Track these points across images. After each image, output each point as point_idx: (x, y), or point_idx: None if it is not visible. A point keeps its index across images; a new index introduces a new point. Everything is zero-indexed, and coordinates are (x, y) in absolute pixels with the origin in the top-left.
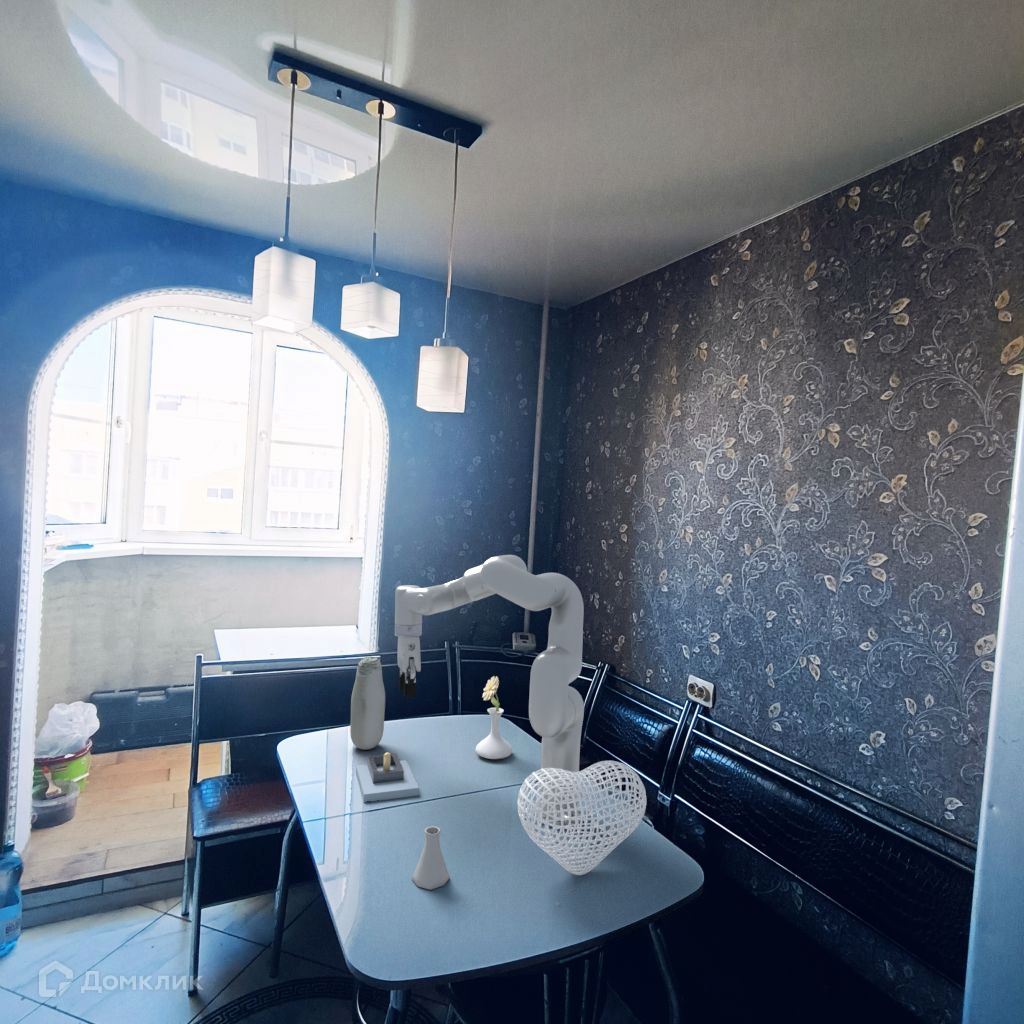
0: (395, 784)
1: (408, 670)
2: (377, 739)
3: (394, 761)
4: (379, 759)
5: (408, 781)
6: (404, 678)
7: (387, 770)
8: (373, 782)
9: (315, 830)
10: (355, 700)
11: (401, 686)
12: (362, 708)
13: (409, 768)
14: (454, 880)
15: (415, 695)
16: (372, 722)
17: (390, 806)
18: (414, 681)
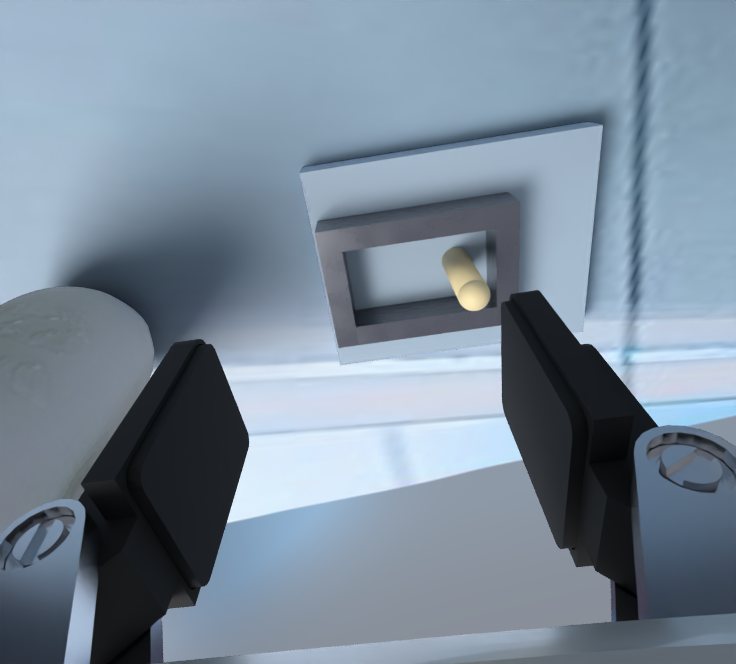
0: (539, 225)
1: (89, 636)
2: (121, 310)
3: (409, 241)
4: (351, 298)
5: (526, 170)
6: (186, 528)
7: (498, 271)
8: None
9: (680, 420)
10: None
11: (232, 463)
12: (81, 481)
13: (394, 160)
14: None
15: (537, 293)
16: (105, 382)
17: (632, 234)
18: (728, 471)
